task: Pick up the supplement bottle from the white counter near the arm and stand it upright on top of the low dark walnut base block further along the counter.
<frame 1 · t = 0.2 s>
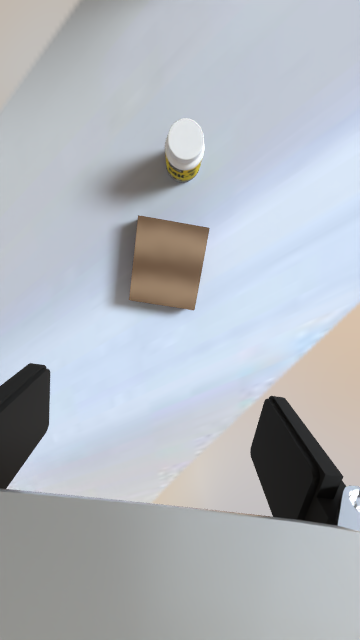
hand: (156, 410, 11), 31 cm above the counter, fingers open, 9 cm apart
supplement bottle: (183, 164, 35), on the counter
walnut base: (168, 264, 39), on the counter
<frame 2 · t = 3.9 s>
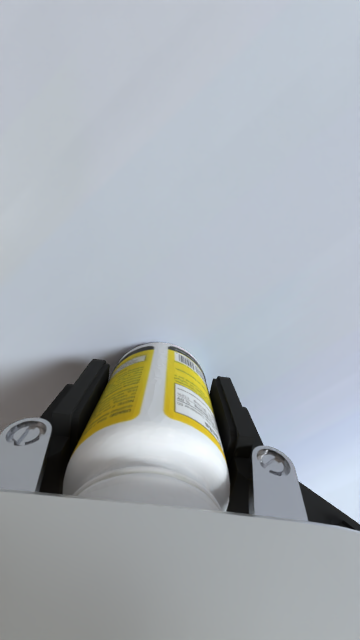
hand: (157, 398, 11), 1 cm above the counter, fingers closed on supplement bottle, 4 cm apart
supplement bottle: (159, 380, 13), on the counter, touching gripper
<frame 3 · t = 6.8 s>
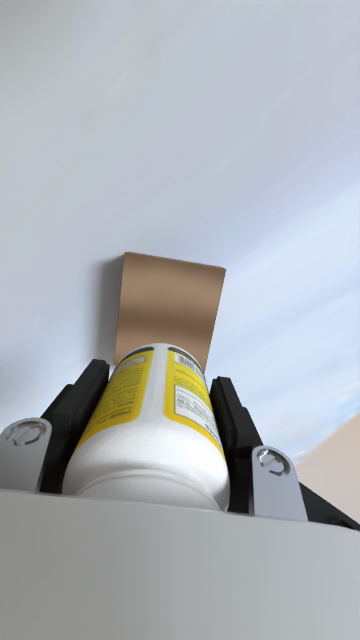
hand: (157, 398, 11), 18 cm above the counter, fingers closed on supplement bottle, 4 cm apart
supplement bottle: (159, 381, 13), point 16 cm above the counter, touching gripper
walnut base: (167, 312, 29), on the counter
when the fingers open (6 cm above the counter, at t = 9.8 s): supplement bottle drops 1 cm, resting on walnut base.
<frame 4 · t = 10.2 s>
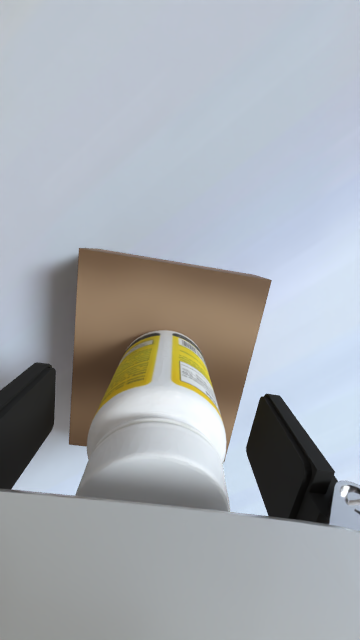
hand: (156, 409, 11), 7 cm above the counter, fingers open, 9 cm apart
supplement bottle: (164, 365, 14), point 3 cm above the counter, touching walnut base
walnut base: (163, 349, 17), on the counter
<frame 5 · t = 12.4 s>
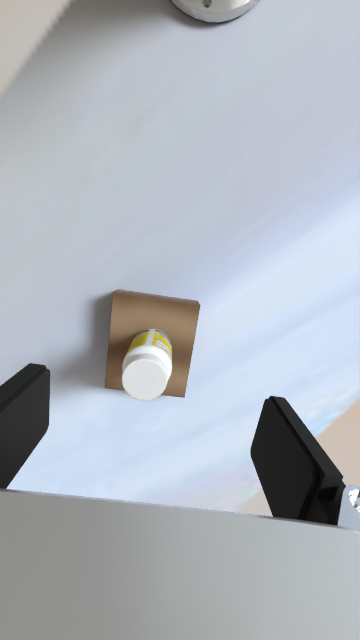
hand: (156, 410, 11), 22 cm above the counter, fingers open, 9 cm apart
supplement bottle: (152, 346, 30), point 3 cm above the counter, touching walnut base
walnut base: (152, 340, 32), on the counter
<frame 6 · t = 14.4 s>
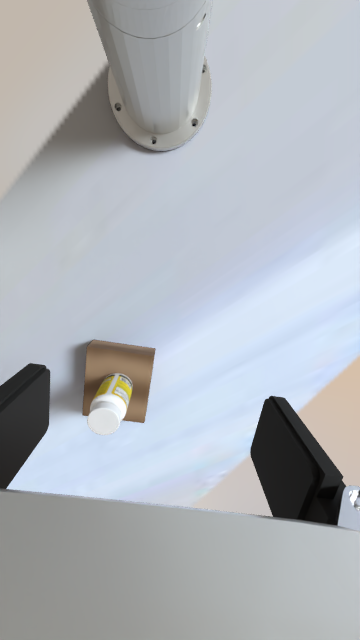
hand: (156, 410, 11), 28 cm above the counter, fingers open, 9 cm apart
supplement bottle: (118, 385, 39), point 3 cm above the counter, touching walnut base
walnut base: (121, 377, 41), on the counter
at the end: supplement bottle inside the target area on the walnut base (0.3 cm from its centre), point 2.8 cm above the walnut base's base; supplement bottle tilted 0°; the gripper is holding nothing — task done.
